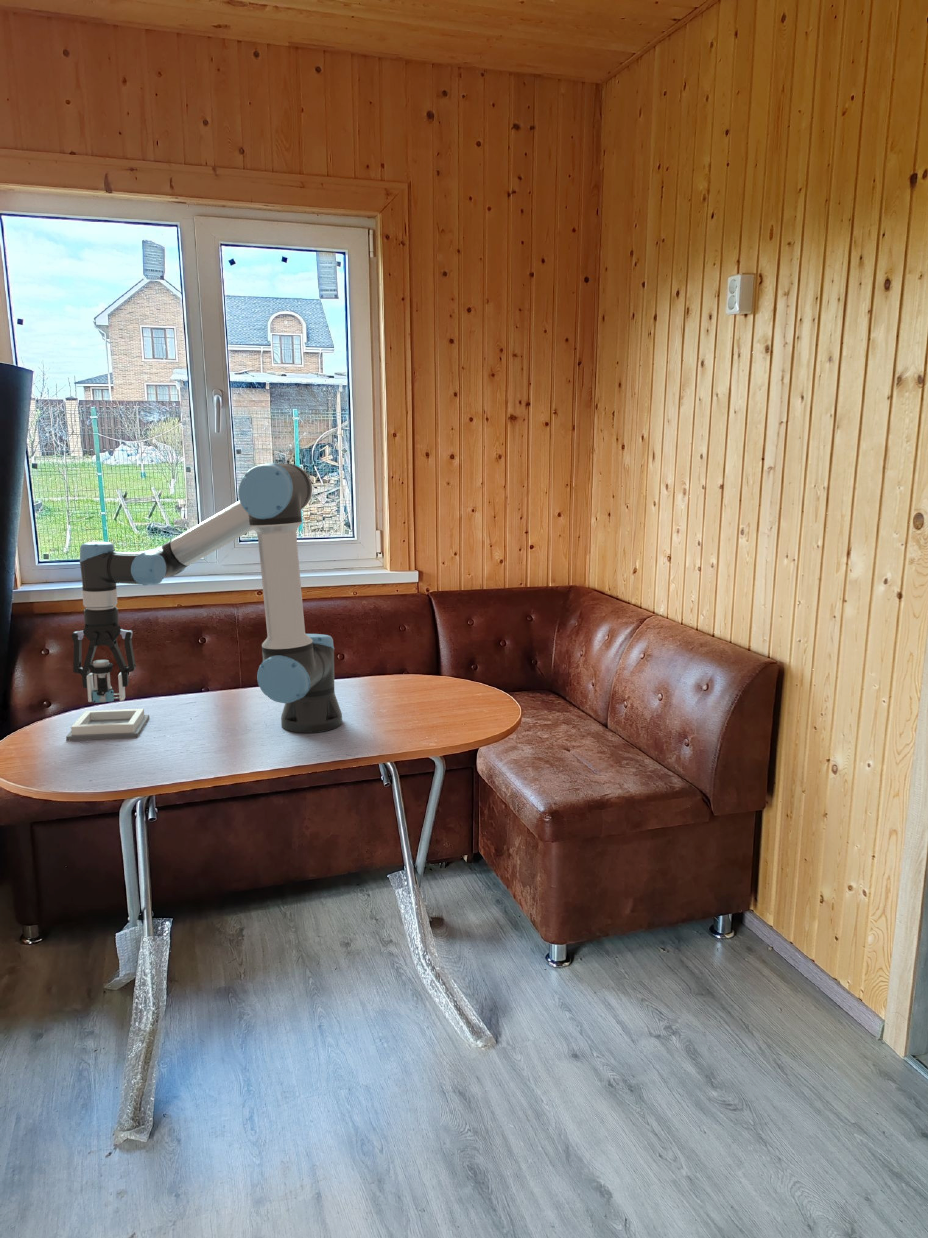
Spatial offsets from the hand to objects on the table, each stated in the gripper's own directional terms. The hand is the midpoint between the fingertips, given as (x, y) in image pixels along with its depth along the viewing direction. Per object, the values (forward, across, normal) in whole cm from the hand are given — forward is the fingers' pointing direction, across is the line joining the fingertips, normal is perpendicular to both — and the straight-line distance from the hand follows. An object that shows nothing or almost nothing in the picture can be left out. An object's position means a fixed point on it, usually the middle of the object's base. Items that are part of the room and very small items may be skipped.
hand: (107, 699), depth 206 cm
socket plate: (+7, 0, 0) cm, 7 cm away
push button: (0, 0, 0) cm, 0 cm away
